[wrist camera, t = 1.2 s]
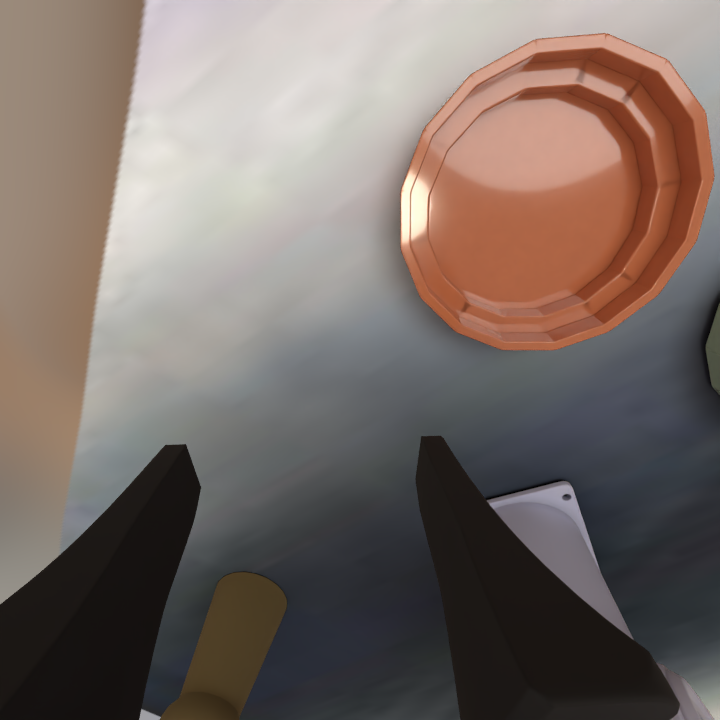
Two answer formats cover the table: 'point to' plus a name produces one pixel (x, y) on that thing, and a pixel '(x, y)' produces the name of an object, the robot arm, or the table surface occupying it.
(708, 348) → the celadon bowl
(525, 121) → the terracotta bowl
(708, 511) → the table surface
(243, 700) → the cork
